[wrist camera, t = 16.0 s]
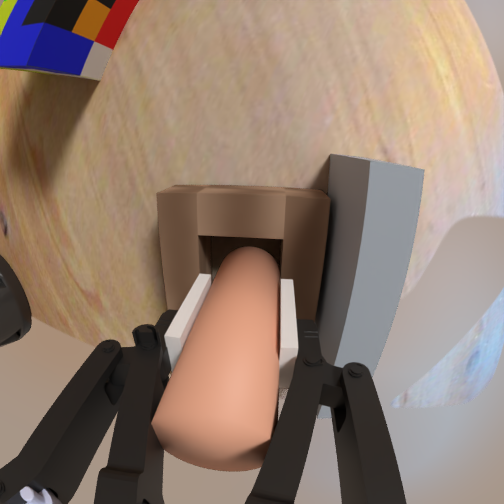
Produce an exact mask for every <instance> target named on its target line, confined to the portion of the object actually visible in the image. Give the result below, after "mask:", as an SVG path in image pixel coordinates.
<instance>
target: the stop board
mask: <svg viewBox="0 0 504 504" xmlns="http://www.w3.org/2000/svg"><path fill="white" fill-rule="evenodd" d="M423 179H424V170H423V169H419V168H415V167H410V166H405V165H401V164H396V163H391V162H386V161H380V160H375V159H369V158H362V157H355V156H346V155H337V154H330V168H329V183H328V195H327V196H328V197H329V198H330V199H331V201H330V211H329V221H328V231H327V240H326V248H325V256H324V264H323V271H322V278H321V285H320V292H319V298H318V305H317V311H316V317H315V324H316V325H317V329H318V335H319V341H320V347H321V353H322V356H323V357H324V359H325V360H326V362H327V363H329V364H331V365H333V366H337V367H341V368H343V367H344V365H346V364H347V363H351V362H358V363H361V364H364V365H365V366H366V367H368V369H369V371H370V373H371V376H372V377H373V374H374V372H375V370H376V367H377V364H378V362H379V359H380V357H381V354H382V351H383V349H384V346H385V343H386V340H387V337H388V335H389V332H390V329H391V326H392V323H393V320H394V317H395V313H396V310H397V307H398V303H399V300H400V296H401V293H402V289H403V286H404V282H405V278H406V274H407V270H408V266H409V261H410V257H411V253H412V248H413V243H414V238H415V233H416V227H417V222H418V216H419V209H420V203H421V195H422V188H423ZM317 418H332V417H331V410H330V407H327V406H323V405H320V404H319V406H318V410H317Z"/></svg>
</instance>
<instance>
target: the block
mask: <svg viewBox="0 0 504 504" xmlns="http://www.w3.org/2000/svg"><path fill="white" fill-rule="evenodd" d="M330 201H331V199H330V198H329V197H328V196H327V195H326V194H325V193H324V192H323V191H322V190H314V189H300V188H284V187H263V186H234V185H174V186H172V187H170V188H168V189H165V190H163V191H161V192H159V193H157V209H158V224H159V237H160V248H161V258H162V268H163V277H164V285H165V293H166V300H167V307H168V310H169V309H171V310H179V309H180V307H181V305H182V303H183V302H184V300H185V298H186V296H187V295H188V293H189V291H190V289H191V288H192V286H193V284H194V282H195V281H196V279H197V277H198V276H199V274H211V285H212V266H211V236H228V237H249V238H269V239H281V253H280V268H279V269H280V284H281V279H291V280H293V286H294V297H295V309H296V319H308V320H313V321H314V323H315V317H316V311H317V305H318V298H319V292H320V285H321V278H322V271H323V264H324V256H325V248H326V240H327V231H328V221H329V211H330Z"/></svg>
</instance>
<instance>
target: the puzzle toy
mask: <svg viewBox="0 0 504 504" xmlns="http://www.w3.org/2000/svg"><path fill="white" fill-rule="evenodd" d="M138 1H139V0H4V2H3V3H2V5H1V7H0V69H10V70H20V71H28V72H35V73H43V74H54V75H63V76H71V77H79V78H86V79H92V80H98V81H100V80H101V78H102V75H103V72H104V70H105V68H106V65H107V63H108V60H109V58H110V56H111V53H112V51H113V49H114V47H115V45H116V43H117V40H118V38H119V36H120V34H121V32H122V30H123V28H124V26H125V24H126V22H127V21H128V19H129V17H130V15H131V13H132V11H133V10H134V8H135V6H136V4H137V3H138Z"/></svg>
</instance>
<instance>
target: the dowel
mask: <svg viewBox="0 0 504 504" xmlns="http://www.w3.org/2000/svg"><path fill="white" fill-rule="evenodd" d="M279 337H280V269H279V266H278V264H277V262H276V260H275V259H274V258H273V257H272V256H271V255H270V254H269V253H268V252H266V251H264V250H263V249H260V248H257V247H241V248H237V249H235V250H233V251H231V252H230V253H229V254H228V255H227V256H226V257H225V258H224V260H223V261H222V263H221V266H220V268H219V270H218V272H217V274H216V276H215V278H214V281H213V283H212V285H211V287H210V289H209V292H208V294H207V296H206V298H205V300H204V303H203V305H202V307H201V309H200V311H199V314H198V316H197V318H196V320H195V322H194V325H193V327H192V329H191V331H190V334H189V336H188V338H187V340H186V343H185V345H184V347H183V349H182V352H181V354H180V356H179V359H178V361H177V363H176V365H175V368H174V370H173V372H172V375H171V377H170V379H169V382H168V384H167V386H166V389H165V391H164V393H163V396H162V398H161V400H160V403H159V405H158V407H157V410H156V412H155V415H154V417H153V419H152V422H151V424H152V426H153V429H154V431H155V433H156V435H157V437H158V440H159V442H160V444H161V446H162V448H163V449H164V450H165V451H167V452H168V453H170V454H171V455H173V456H175V457H176V458H178V459H180V460H182V461H185V462H187V463H190V464H193V465H196V466H199V467H203V468H207V469H212V470H218V471H247V470H253V469H257V468H260V467H262V464H263V462H264V459H265V456H266V454H267V451H268V448H269V446H270V443H271V440H272V437H273V434H274V432H275V429H276V426H277V423H278V404H279V402H278V401H279Z"/></svg>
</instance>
